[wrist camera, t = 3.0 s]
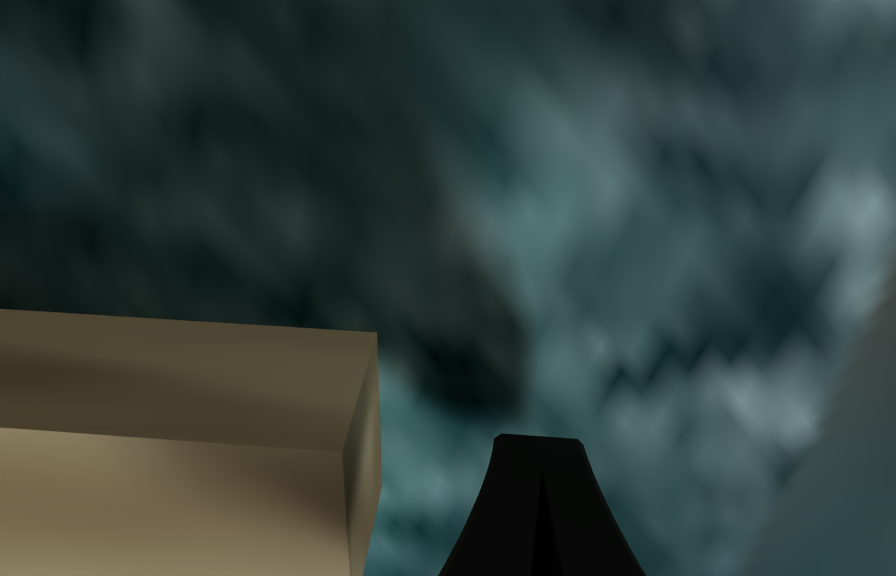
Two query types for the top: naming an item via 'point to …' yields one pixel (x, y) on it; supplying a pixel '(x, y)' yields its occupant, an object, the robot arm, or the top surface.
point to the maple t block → (185, 447)
